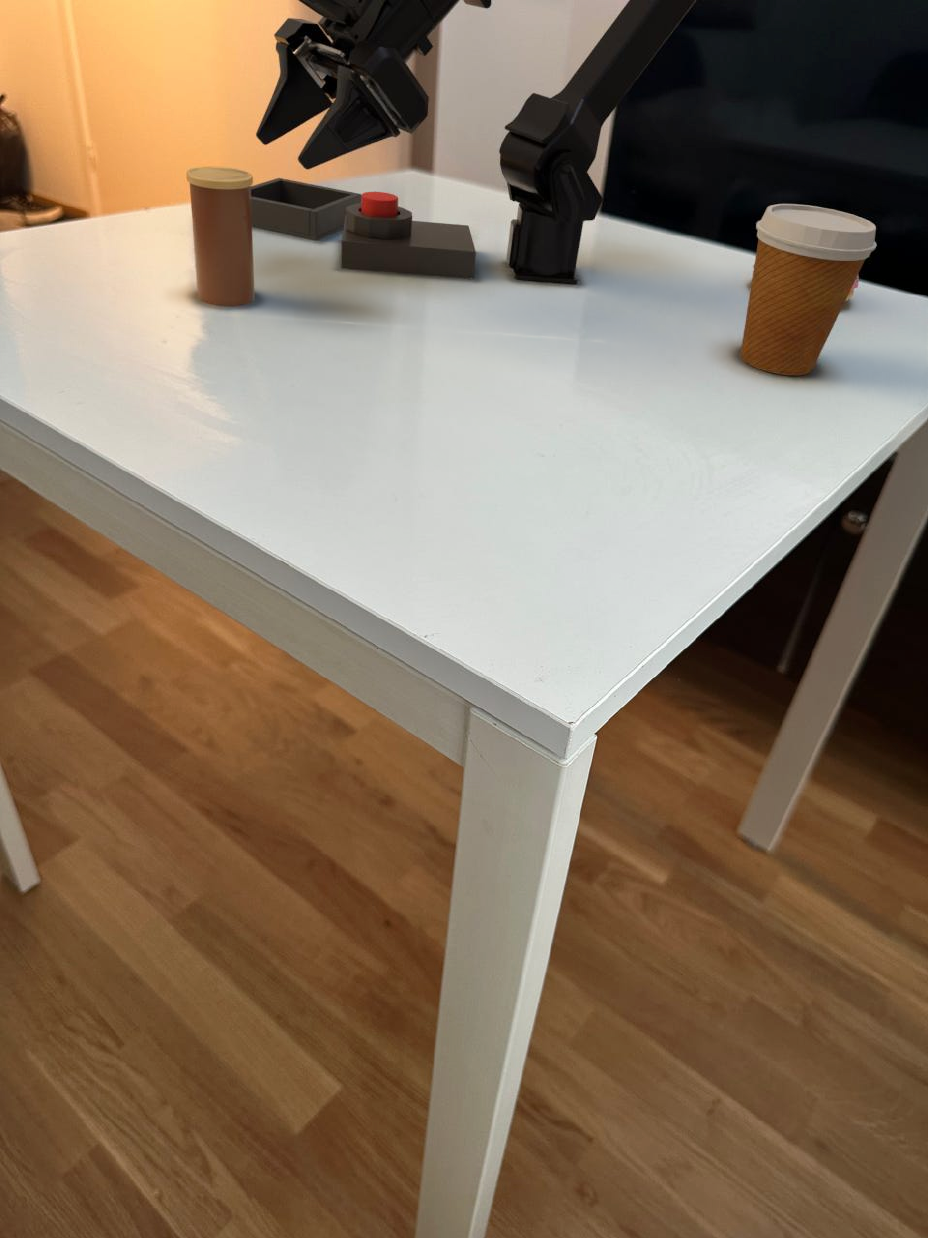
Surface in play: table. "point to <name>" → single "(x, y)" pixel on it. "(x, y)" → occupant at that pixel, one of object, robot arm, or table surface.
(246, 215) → the brown cup
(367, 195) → the brew button
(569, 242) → the robot arm
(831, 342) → the table surface
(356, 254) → the red button box
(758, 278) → the disposable coffee cup
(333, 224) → the tray
